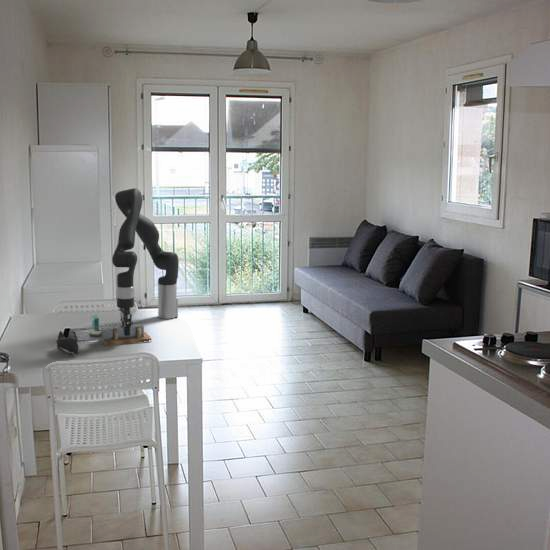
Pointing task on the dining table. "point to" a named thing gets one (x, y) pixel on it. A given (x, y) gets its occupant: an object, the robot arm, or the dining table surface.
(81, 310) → the dining table surface
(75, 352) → the figurine
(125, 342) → the peg rack
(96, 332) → the teal handled round piece
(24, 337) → the dining table surface
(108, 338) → the bar
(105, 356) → the dining table surface
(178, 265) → the robot arm
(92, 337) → the gray base plate
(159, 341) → the dining table surface
